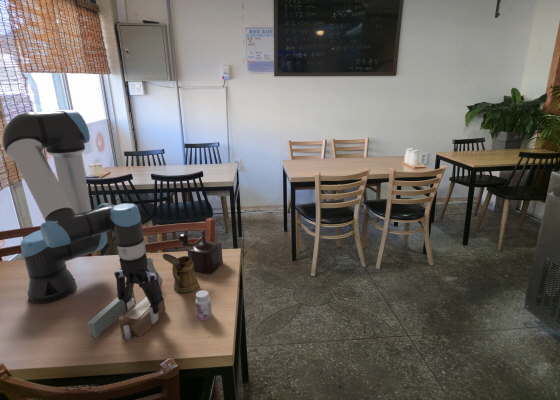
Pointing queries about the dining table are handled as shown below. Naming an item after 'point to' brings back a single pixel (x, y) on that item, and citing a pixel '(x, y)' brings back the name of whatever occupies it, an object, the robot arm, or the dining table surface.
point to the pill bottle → (203, 305)
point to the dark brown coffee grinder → (203, 254)
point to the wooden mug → (182, 273)
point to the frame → (139, 317)
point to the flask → (152, 269)
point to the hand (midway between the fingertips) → (144, 319)
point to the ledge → (109, 318)
